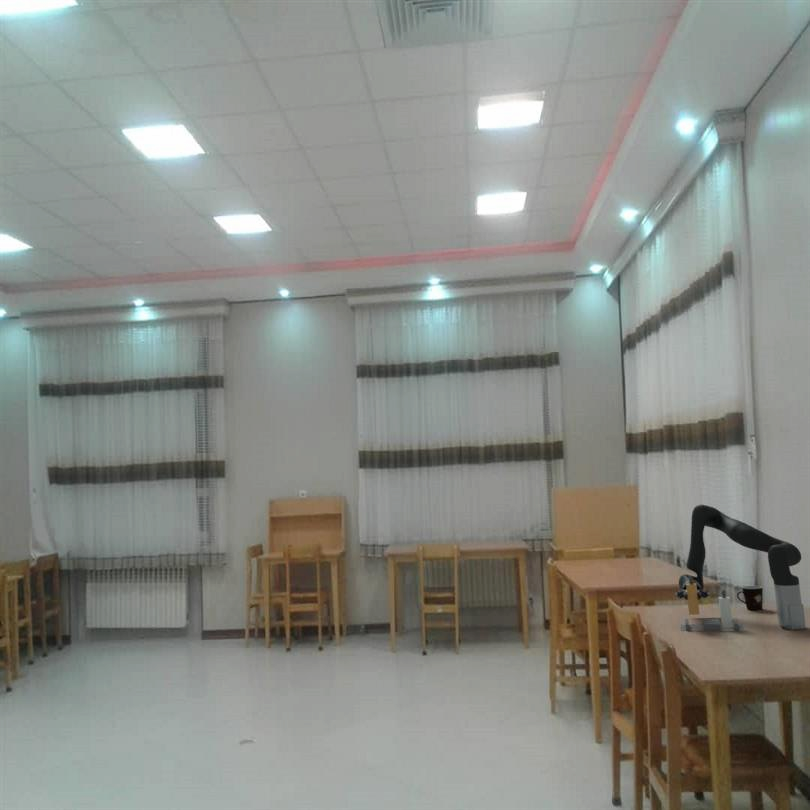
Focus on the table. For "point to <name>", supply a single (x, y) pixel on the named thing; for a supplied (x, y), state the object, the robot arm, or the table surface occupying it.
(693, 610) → the orange plug
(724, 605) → the white bottle
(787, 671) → the table surface
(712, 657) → the table surface
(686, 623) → the cable rack
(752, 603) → the coffee mug
